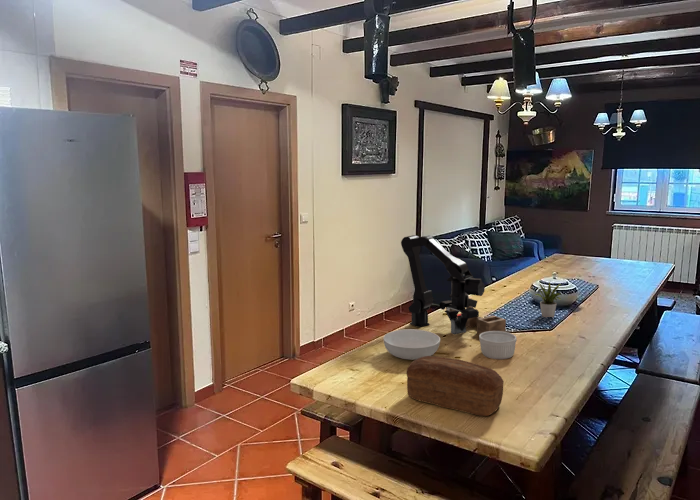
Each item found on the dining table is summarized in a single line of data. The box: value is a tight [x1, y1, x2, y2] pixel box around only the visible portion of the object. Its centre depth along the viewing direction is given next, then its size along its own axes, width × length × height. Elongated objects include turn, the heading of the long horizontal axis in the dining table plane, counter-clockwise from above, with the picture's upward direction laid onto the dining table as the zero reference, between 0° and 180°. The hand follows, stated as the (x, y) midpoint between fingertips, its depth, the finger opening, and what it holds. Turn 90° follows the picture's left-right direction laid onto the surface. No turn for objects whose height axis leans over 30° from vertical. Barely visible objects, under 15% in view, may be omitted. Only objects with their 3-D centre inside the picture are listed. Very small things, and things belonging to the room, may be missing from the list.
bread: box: [406, 355, 504, 417], centre depth 156 cm, size 14×28×12 cm, turn 56°
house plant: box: [531, 281, 563, 318], centre depth 237 cm, size 14×14×16 cm
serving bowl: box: [382, 328, 441, 361], centre depth 195 cm, size 21×21×7 cm
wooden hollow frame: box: [466, 306, 507, 335], centre depth 222 cm, size 9×19×9 cm, turn 28°
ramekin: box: [478, 331, 518, 360], centre depth 193 cm, size 13×13×7 cm
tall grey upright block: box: [450, 317, 467, 336], centre depth 219 cm, size 6×2×6 cm, turn 118°
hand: (458, 329), depth 219 cm, fingers open, 4 cm apart
